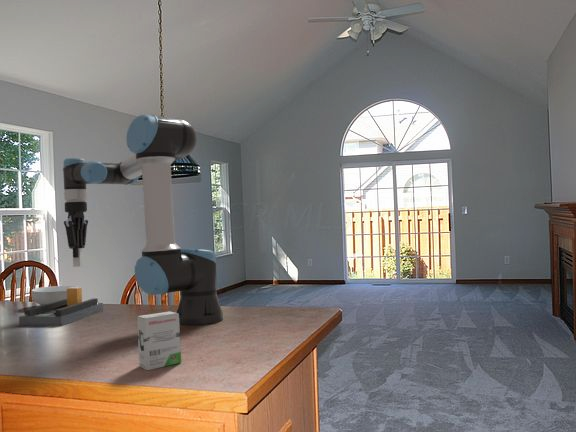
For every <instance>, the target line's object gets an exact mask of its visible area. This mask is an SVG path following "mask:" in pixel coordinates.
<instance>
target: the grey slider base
mask: <svg viewBox="0 0 576 432" xmlns="http://www.w3.org/2000/svg"><path fill="white" fill-rule="evenodd" d="M64 307H67V304H64V305H61V306H58V307H54V308H51V309H48V310H44V311H41V312H38V313H37V314H34V315H31V316H28V315H25V314H23V315H19V316H18V325H19V326H20V327H22V326H23V327H63V326H65V325H69V324H71V323H74V322H77V321H80V320H82V319H85V318H87V317H90V316H93V315H96V314H98V313H101V312H103V311H104V303H103V302H98V303H97V304H95V305H92V306H89V307H86V308H83V309H80V310H77V311H74V312H71V313H68V314H65V315H62V316H56V310H58V309H61V308H64Z"/></svg>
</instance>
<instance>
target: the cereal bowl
mask: <svg viewBox="0 0 576 432" xmlns="http://www.w3.org/2000/svg"><path fill="white" fill-rule="evenodd" d="M70 287H77V286H73V285H53V286H52V285H51V286H43V287H42V286H41V287H35V288H33V289H31V293H30V294H31V298H32V300H33V302H35V304H37V305H39V306H41V305H45V304H48V303H52V302H55V301H59V300H62V299H67V289H68V288H70Z"/></svg>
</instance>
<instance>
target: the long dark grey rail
mask: <svg viewBox="0 0 576 432" xmlns="http://www.w3.org/2000/svg"><path fill="white" fill-rule="evenodd" d="M98 300H99V299H98V298H90V299H88V300H84V301H83V300H82V302H80V303H77V304H74V305H71V306H67V307H64V308H61V309H58V310H56V316H62V315H65V314H68V313H71V312H74V311H77V310H80V309H83V308H86V307H89V306H92V305H95V304H97V303H99V301H98Z"/></svg>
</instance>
